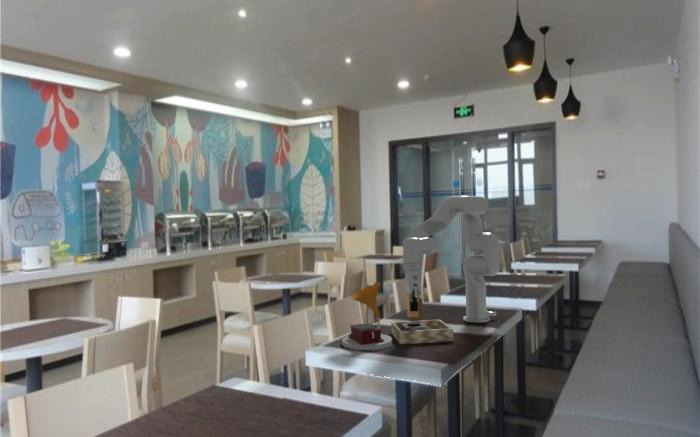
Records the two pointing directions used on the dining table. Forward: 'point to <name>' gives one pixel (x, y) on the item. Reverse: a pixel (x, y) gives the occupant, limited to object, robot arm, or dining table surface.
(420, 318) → the squeeze bottle
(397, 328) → the box
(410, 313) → the orange canister
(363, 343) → the gramophone
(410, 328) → the socket
